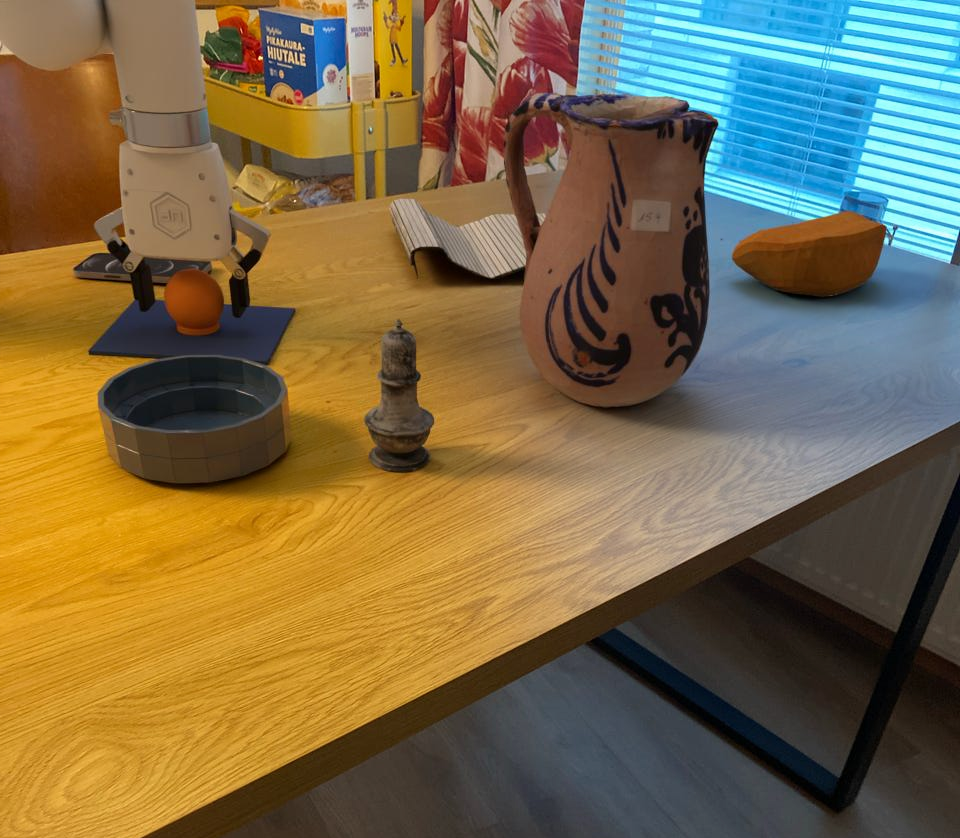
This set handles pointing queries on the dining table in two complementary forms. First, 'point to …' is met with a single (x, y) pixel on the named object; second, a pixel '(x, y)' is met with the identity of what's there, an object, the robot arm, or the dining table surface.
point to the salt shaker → (399, 408)
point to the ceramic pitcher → (615, 245)
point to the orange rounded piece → (194, 302)
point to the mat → (462, 239)
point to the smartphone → (113, 269)
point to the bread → (814, 254)
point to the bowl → (195, 418)
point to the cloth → (161, 338)
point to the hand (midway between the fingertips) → (194, 310)
